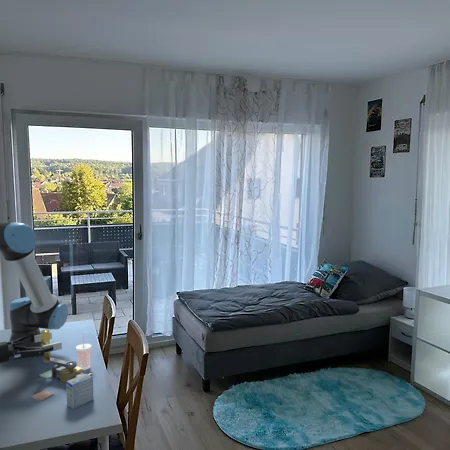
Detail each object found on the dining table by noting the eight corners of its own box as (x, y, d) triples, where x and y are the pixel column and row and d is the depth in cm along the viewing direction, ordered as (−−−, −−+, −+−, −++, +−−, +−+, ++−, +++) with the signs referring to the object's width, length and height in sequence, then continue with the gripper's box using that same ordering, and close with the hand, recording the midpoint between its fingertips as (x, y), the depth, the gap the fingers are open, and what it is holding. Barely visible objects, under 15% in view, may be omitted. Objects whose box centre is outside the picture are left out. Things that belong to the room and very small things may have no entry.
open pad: (39, 375, 165) (39, 374, 165) (50, 371, 169) (50, 370, 169) (47, 379, 162) (47, 378, 162) (58, 374, 166) (58, 373, 166)
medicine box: (86, 396, 149) (86, 372, 148) (94, 400, 147) (93, 376, 146) (66, 405, 143) (65, 381, 142) (73, 409, 140) (72, 385, 140)
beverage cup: (81, 372, 168) (80, 338, 167) (73, 367, 172) (72, 334, 171) (95, 366, 173) (94, 334, 171) (87, 362, 177) (85, 330, 175)
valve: (50, 378, 162) (49, 364, 162) (62, 373, 167) (62, 359, 166) (81, 391, 153) (80, 375, 152) (93, 384, 158) (93, 370, 157)
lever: (78, 365, 160) (77, 334, 159) (71, 369, 157) (69, 338, 155) (47, 358, 167) (46, 328, 165) (39, 362, 163) (38, 332, 162)
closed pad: (31, 397, 148) (31, 396, 148) (44, 391, 153) (44, 390, 153) (40, 401, 146) (40, 400, 146) (53, 394, 150) (53, 393, 150)
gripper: (-10, 353, 163) (47, 340, 176) (3, 376, 144) (66, 359, 157) (-11, 334, 162) (47, 322, 175) (2, 355, 143) (65, 340, 156)
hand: (56, 340), depth 166 cm, fingers open, 12 cm apart
